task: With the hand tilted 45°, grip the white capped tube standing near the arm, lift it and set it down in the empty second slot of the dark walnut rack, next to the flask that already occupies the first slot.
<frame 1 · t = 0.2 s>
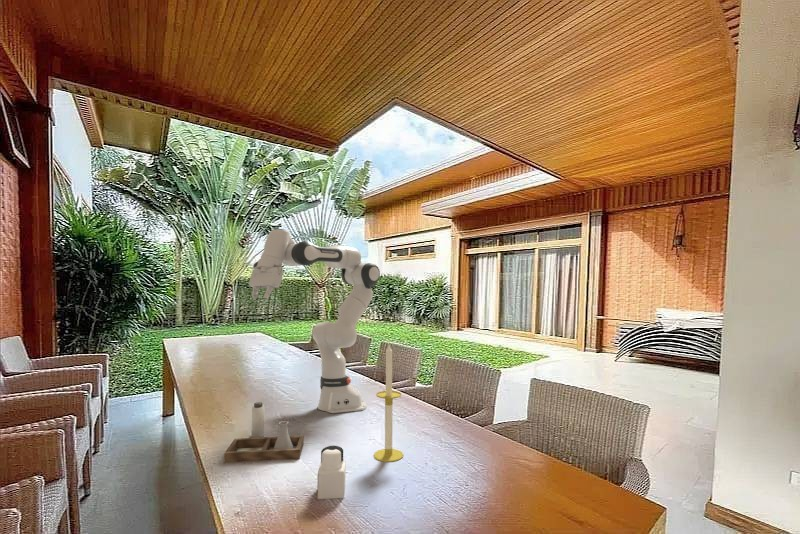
hand: (260, 297, 164), 51 cm above the table, tool tilted 20°, fingers open, 8 cm apart
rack: (266, 453, 138), on the table
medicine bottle: (331, 493, 113), on the table
white capped tube: (257, 436, 154), on the table
candle: (388, 456, 137), on the table
flask: (283, 453, 139), resting in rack
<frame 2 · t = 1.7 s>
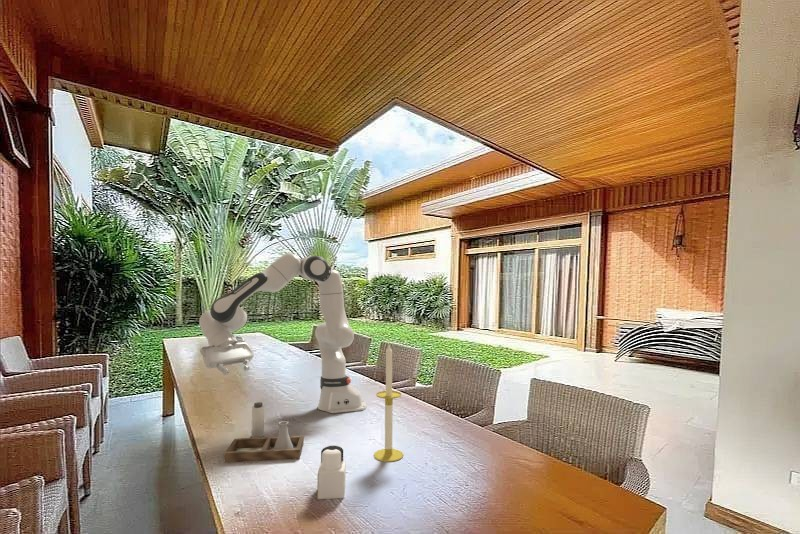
hand: (237, 371, 161), 23 cm above the table, tool tilted 45°, fingers open, 8 cm apart
nothing on the table moved.
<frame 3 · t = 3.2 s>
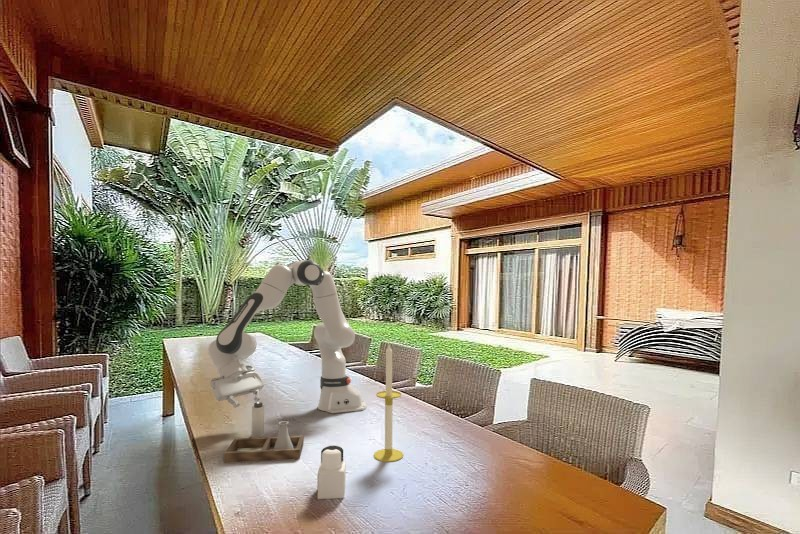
hand: (248, 403, 157), 11 cm above the table, tool tilted 45°, fingers open, 8 cm apart
nothing on the table moved.
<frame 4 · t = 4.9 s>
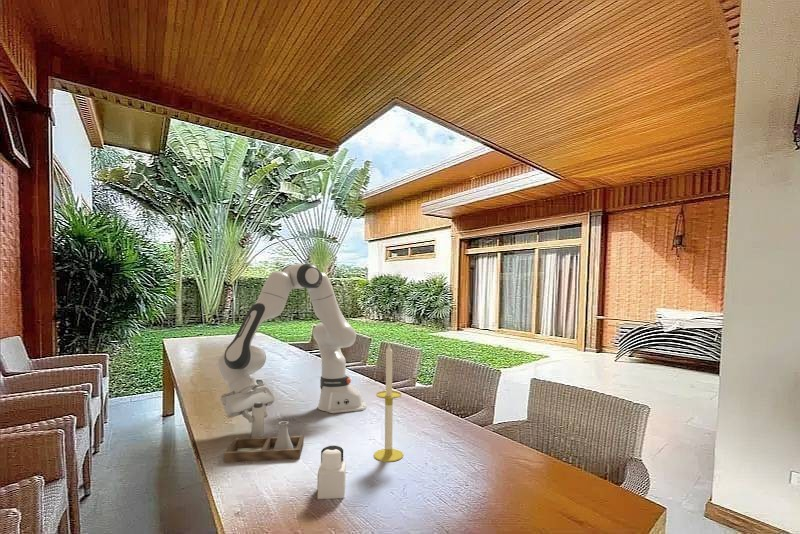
hand: (259, 419, 153), 6 cm above the table, tool tilted 45°, fingers closed on white capped tube, 4 cm apart
white capped tube: (257, 436, 154), on the table, touching gripper
everything else where it was.
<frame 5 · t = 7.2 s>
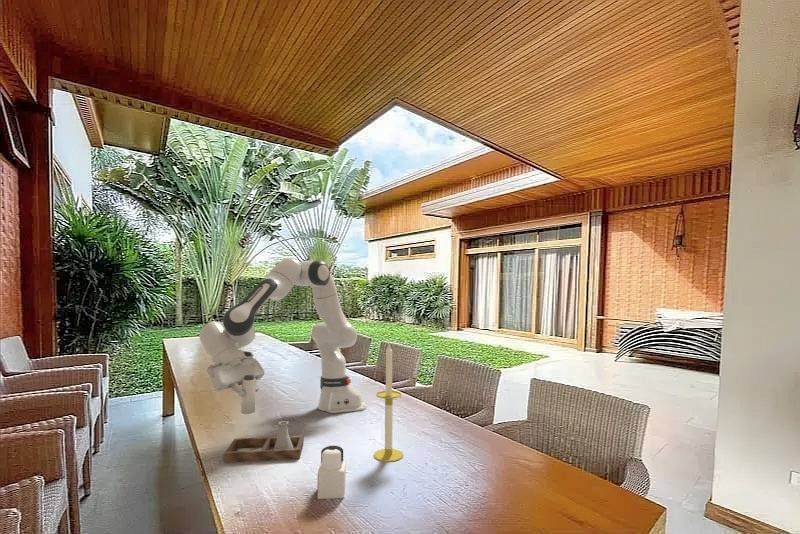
hand: (250, 393, 139), 20 cm above the table, tool tilted 45°, fingers closed on white capped tube, 4 cm apart
white capped tube: (247, 411, 139), point 14 cm above the table, touching gripper
everything else where it was.
when the fingers open (8 cm above the table, at t = 9.9 s): white capped tube drops 1 cm, resting on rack.
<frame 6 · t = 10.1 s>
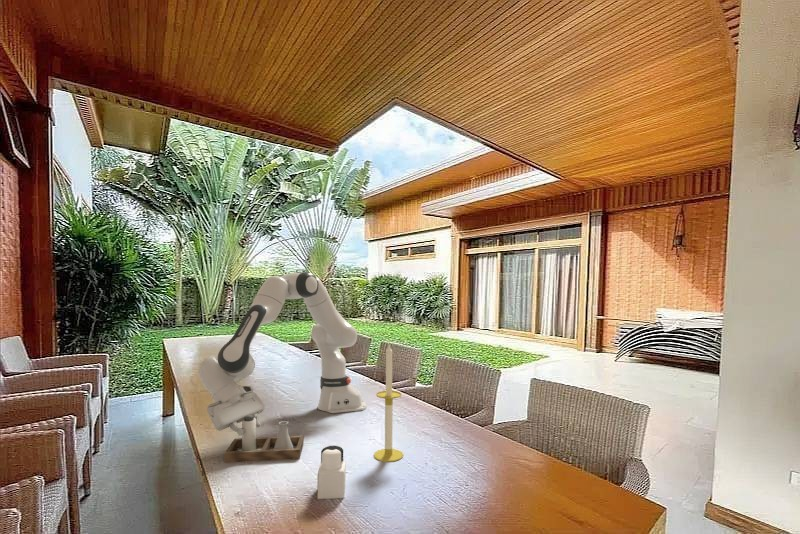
hand: (250, 430, 138), 8 cm above the table, tool tilted 45°, fingers open, 6 cm apart
white capped tube: (248, 452, 138), resting on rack
everything else where it was.
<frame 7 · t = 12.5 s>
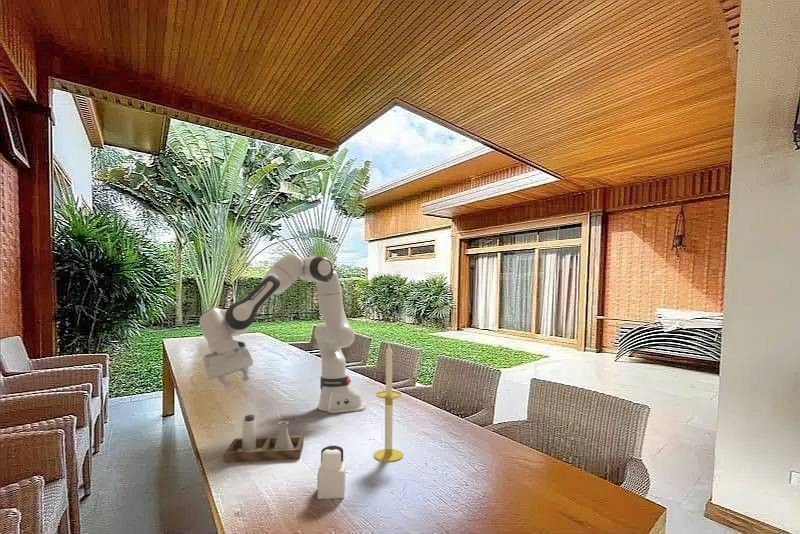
hand: (237, 383, 152), 20 cm above the table, tool tilted 30°, fingers open, 8 cm apart
nothing on the table moved.
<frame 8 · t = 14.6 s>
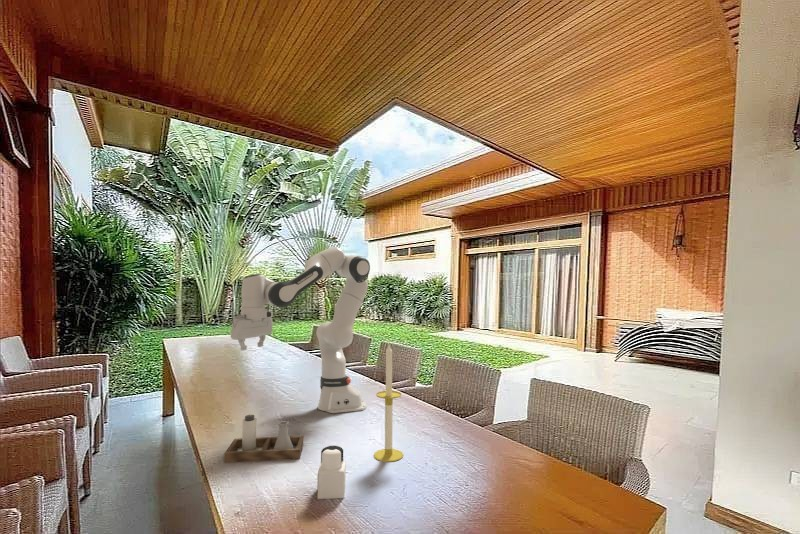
hand: (252, 348, 165), 31 cm above the table, tool pointing down, fingers open, 8 cm apart
nothing on the table moved.
at the end: white capped tube inside the target area on the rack (0.2 cm from its centre), point 0.3 cm above the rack's base; white capped tube tilted 0°; flask inside the target area (0.1 cm from its centre), resting in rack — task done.
